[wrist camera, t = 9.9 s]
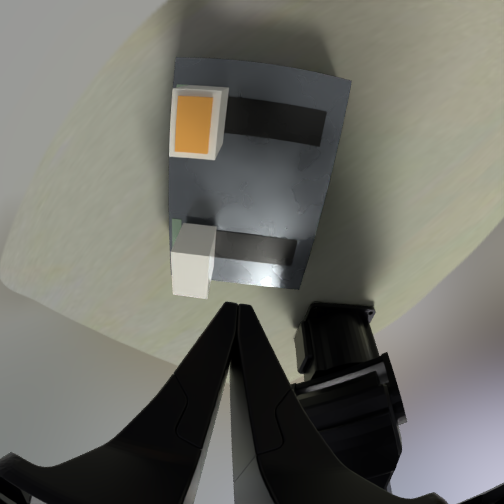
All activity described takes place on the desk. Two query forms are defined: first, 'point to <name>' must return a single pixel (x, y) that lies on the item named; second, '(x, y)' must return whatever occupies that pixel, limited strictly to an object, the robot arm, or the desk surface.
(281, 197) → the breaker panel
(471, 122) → the desk surface
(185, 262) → the handle
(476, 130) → the desk surface
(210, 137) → the handle
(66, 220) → the desk surface
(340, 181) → the desk surface
